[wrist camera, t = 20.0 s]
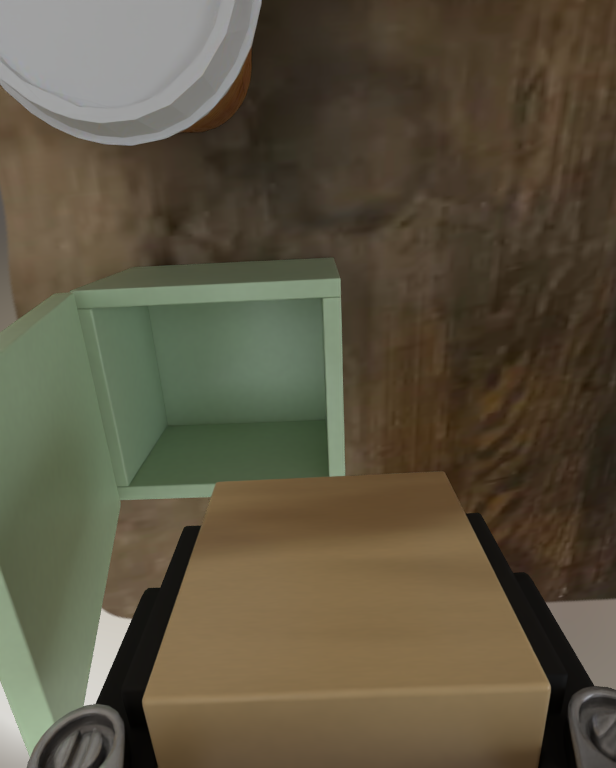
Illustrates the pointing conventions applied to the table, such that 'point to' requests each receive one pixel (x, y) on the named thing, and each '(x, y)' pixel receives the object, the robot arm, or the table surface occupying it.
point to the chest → (217, 373)
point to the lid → (51, 515)
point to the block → (343, 635)
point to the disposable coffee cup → (128, 64)
